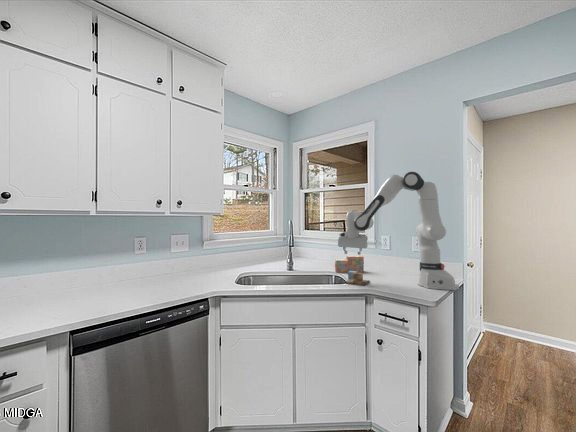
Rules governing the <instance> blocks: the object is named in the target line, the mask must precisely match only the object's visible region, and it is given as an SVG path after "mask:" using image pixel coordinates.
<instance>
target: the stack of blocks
mask: <svg viewBox="0 0 576 432" xmlns="http://www.w3.org/2000/svg"><path fill="white" fill-rule="evenodd" d="M345 257H346V258H345V259H343V258H341V259H339V258H338V259H336V258H335V260H334V271H335V272H336V271H339V272H338V273H348V272H349V271H358V272H359V273H364V272H365V269H364V266H365V264H364V263H365V262H364V261H365V260H364V256H363V255H346V256H345Z"/></svg>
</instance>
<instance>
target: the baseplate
mask: <svg viewBox="0 0 576 432" xmlns="http://www.w3.org/2000/svg"><path fill="white" fill-rule="evenodd" d="M369 283H370V280H369V279H368V280H366V279H363V281H361V282H355V281H353V279H348V280H347V281H345V284H346V285H356V286H364V287H365V286H366V285H368V284H369Z"/></svg>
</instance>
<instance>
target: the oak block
mask: <svg viewBox="0 0 576 432" xmlns="http://www.w3.org/2000/svg"><path fill="white" fill-rule="evenodd" d="M363 280H364V272H355V273H353V281H355V282H361V281H363Z"/></svg>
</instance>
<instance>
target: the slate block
mask: <svg viewBox="0 0 576 432" xmlns="http://www.w3.org/2000/svg"><path fill="white" fill-rule="evenodd" d="M355 272H358V271H349V272H347V279H348V280H350V279H353V273H355Z"/></svg>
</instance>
